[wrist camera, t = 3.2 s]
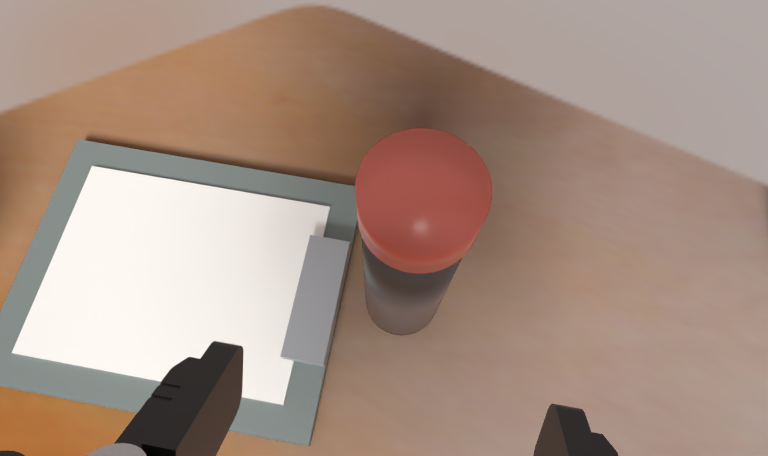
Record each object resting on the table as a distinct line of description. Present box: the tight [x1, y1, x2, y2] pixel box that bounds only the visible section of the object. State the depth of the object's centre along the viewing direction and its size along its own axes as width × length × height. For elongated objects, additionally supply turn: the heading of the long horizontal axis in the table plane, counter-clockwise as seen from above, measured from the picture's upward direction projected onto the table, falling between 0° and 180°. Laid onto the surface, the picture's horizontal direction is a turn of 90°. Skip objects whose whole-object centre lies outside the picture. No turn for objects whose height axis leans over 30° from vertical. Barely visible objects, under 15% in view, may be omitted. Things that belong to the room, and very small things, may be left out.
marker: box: [355, 128, 492, 335], centre depth 21 cm, size 4×4×13 cm
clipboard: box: [0, 139, 358, 446], centre depth 26 cm, size 16×13×2 cm
